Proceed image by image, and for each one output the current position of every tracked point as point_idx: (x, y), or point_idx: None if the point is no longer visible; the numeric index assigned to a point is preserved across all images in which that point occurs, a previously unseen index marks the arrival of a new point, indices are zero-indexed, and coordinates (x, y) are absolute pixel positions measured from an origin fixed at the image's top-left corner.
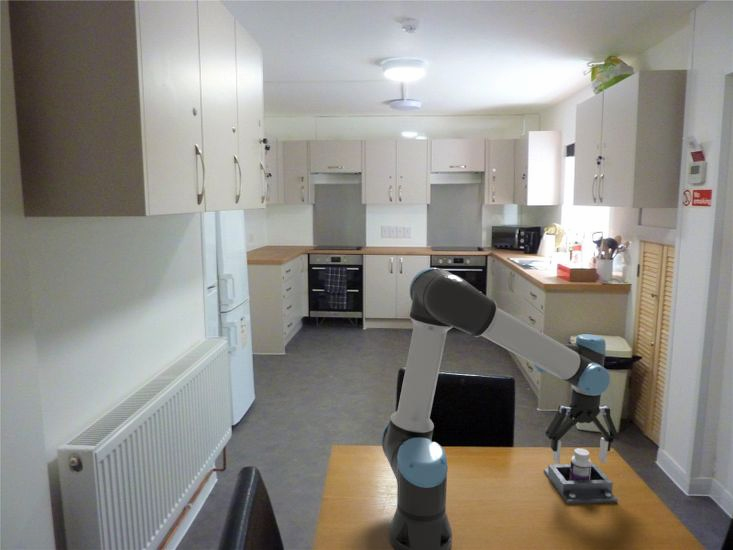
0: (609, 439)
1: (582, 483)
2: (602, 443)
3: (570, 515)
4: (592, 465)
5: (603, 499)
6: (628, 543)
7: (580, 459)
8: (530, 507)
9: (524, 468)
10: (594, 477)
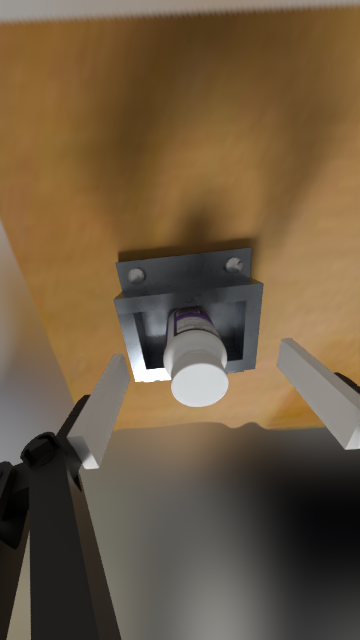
0: (50, 456)
1: (205, 290)
2: (102, 430)
3: (264, 191)
4: (144, 373)
5: (154, 258)
6: (149, 14)
7: (209, 354)
8: (349, 225)
9: (275, 373)
10: (146, 345)
